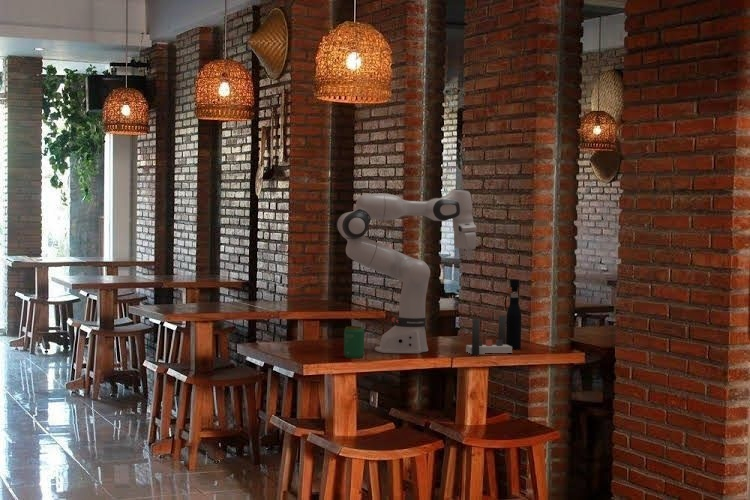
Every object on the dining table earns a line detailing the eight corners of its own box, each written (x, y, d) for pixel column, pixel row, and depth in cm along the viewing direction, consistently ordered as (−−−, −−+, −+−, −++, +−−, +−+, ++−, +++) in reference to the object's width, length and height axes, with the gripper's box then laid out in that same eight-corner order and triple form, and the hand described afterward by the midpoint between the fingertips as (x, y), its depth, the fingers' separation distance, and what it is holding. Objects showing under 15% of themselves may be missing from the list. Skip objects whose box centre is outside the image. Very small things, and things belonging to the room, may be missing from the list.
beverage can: (367, 357, 425) (368, 327, 424) (351, 359, 420) (351, 329, 420) (356, 355, 431) (356, 325, 431) (340, 356, 427) (340, 326, 426)
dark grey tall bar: (473, 356, 434) (473, 319, 434) (470, 355, 437) (471, 318, 436) (480, 356, 435) (480, 319, 434) (477, 354, 438) (478, 318, 437)
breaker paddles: (476, 346, 442) (476, 340, 442) (475, 345, 443) (475, 339, 443) (502, 345, 445) (502, 340, 444) (501, 345, 446) (501, 339, 446)
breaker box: (470, 354, 439) (471, 347, 439) (465, 352, 446) (466, 345, 445) (512, 353, 443) (512, 346, 442) (506, 351, 449) (506, 344, 449)
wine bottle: (520, 350, 455) (521, 280, 454) (505, 349, 456) (506, 279, 455) (521, 348, 461) (522, 279, 460) (506, 347, 463) (507, 279, 461)
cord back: (499, 351, 451) (500, 315, 450) (497, 350, 454) (497, 315, 453) (506, 350, 451) (506, 315, 451) (503, 350, 454) (504, 315, 454)
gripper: (449, 226, 459) (451, 258, 460) (463, 228, 439) (465, 261, 440) (463, 225, 460) (465, 257, 461) (477, 226, 440) (480, 259, 441)
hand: (465, 259), depth 450 cm, fingers open, 8 cm apart
